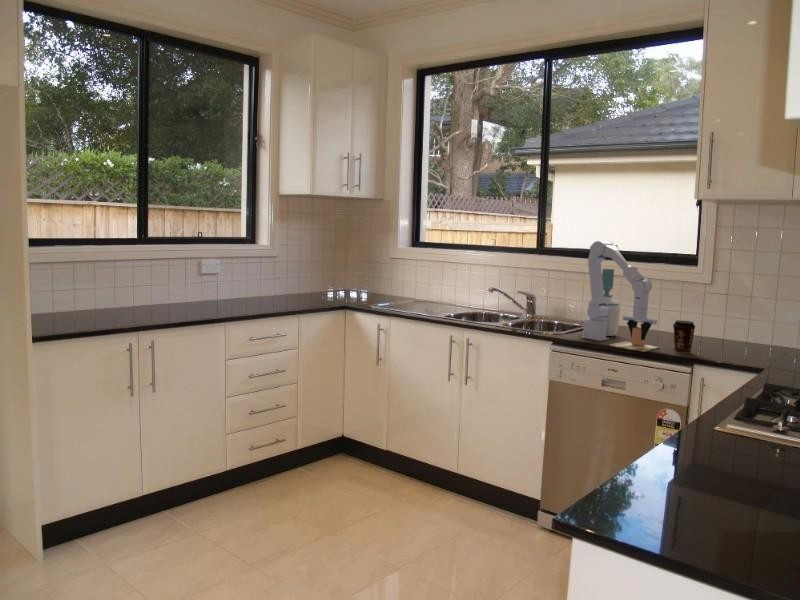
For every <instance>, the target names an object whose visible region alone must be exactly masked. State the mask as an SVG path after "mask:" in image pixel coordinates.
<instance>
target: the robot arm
mask: <svg viewBox="0 0 800 600" xmlns="http://www.w3.org/2000/svg"><path fill="white" fill-rule="evenodd" d="M589 251H590V252H589V255H588V259H587V264H588V265H587V266H588V276H589V285H590V293H591V294H590V295H591V297H590V298H591V299H590V300H589V302H588V307H587V311H586V312H587V316H588V318H586V319H585V320H584V322H583V329H582V330H583V332H582V336H581V338H583V339H586V340H587V339H588V340H592V341H599V342H601V341H606V340H610V337H606V323H607V317H608V316H609V315H610V308H609V306H608V301H607V300H606V299H605V298H604V292H605V291H604V290H603V280H602V273H603V269H602V262H603V261H604V260H605V259H606V258H610V259H612V261H613V262H615V264H616V265H617V266H618V267H619V268H621V270H622V275H623V276H624V277H625V279H626V280H627V281H628V282H629V283H630V284H631V286H632V292H633V293H634V294H633V295H634V297H633V298H634V299H633V309H632V311H633V312H632V316H631V315H622V321H626V324H627V326H628V329H629V333H630V337H631V339H632V330H633V328H635V327H638V323H640V327H641V340H645V341H646V337H647V334H648V332H649V330H650V329H651V327H652V325H657V324H658V319H655V318H654V319H653V318H651V317H650V318H649V317H648V309H649V297H650V296H649V294H650V291H651V290H652V288H653V284H652V282H651V281H650V279H648V278H645V276H644V275H642V274H641V272H640V271H639V269H638V266H635V265H630V264H629V263H628V261H627V260H626V259H625V258H624V256H623V255H622V254H621V252H620V251H619V249H618V247H617V246H616V245H615V244H614V242H613V241H610V240H607V241H604V240H603V241H602V240H601V241H600V240H596V241H594V242H593V243H592V244H591V245H590V246H589Z"/></svg>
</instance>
